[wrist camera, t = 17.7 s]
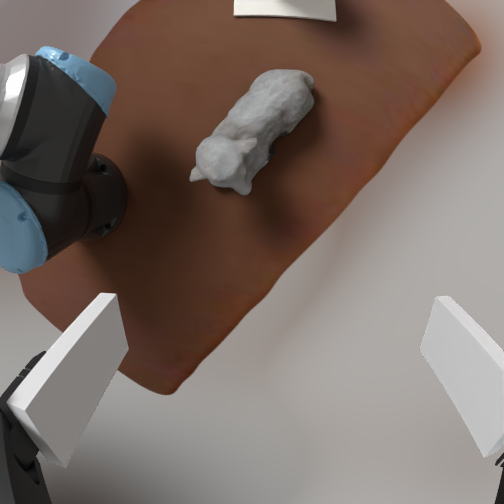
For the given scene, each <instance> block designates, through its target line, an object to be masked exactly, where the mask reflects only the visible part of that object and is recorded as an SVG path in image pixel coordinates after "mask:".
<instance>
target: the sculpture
mask: <svg viewBox="0 0 504 504" xmlns="http://www.w3.org/2000/svg"><path fill="white" fill-rule="evenodd" d="M313 88H314V79H313V78H312V77H311V76H310V75H309V74H307V73H306V72H303V71H299V70H286V69H277V70H270V71H267V72H265V73H263V74H261V75H260V76H259V77H257V78H256V79H255V81H254V82H253V84H252V85H251V87H250V89H249V91H248V92H247V93H246V94H245V95H244V96H243V97H241V98H240V99H239V100H238V101H237V102H236V104H235V106H234V107H233V108H232V109H231V110H230V111H229V113H228V116H227V117H226V118H225V119H224V120H223V121H222V122H221V123H220V124H219V125H218V126H217V128H216V129H215V130H214V132H213V134H212V135H211V136H210V137H208V138H206V139H204V140H203V142H201V144H200V145H199V146H198V147H197V151H196V166H195V167H194V168H193V169H192V171H191V176H190V178H189V179H190V181H191V182H194V181H198V180H202V179H208V180H209V182H210V183H211V184H212V185H214V186H217V187H224V188H225V187H230V188H233V189H234V190H235V191H236V192H238V193H239V194H241V195H247V194H249V193H250V191H251V189H252V185H251V180H252V179H253V177H254V176H255V175H256V173H257V172H258V171H259V170H260V169H261V168H262V167H263V166H265V165H266V164H267V163H268V161H269V160H270V158H271V157H272V156H273V155H274V153H275V150H274V147H273V145H272V142H273V141H274V140H275V138H278V137H282V136H285V135H287V134H289V133H290V132H291V131H292V130H293V129H294V128H295V126H296V125H297V124H298V122H299V121H300V120H301V119H302V118H303V117H304V116H305V115H306V114H307V113H308V112H309V111H310V110H311V108H312V107H313V105H314V99H313V96H312V93H311V91H312V89H313Z"/></svg>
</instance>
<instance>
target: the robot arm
mask: <svg viewBox="0 0 504 504" xmlns="http://www.w3.org/2000/svg"><path fill="white" fill-rule="evenodd" d="M115 93H116V83H115V81H114V79H113V78H112V77H111V76H110V75H109V74H108V73H106V72H105V71H103V70H102V69H100V68H98V67H97V66H95V65H93V64H91V63H89V62H87V61H85V60H83V59H81V58H79V57H77V56H74V55H69V54H68V53H66V52H64V51H62V50H60V49H56V48H53V47H49V46H44V47H42V48H41V49H40V50H39V51H37V53H36V55H35V56H30V55H27V54H22V55H20V56H18V57H17V58H15V59H14V60H12V61H10V62H9V63H7V64H0V160H2V162H1V166H0V266H1V267H2V268H4V269H5V270H7V271H10V272H12V273H17V274H22V273H26V272H28V271H30V270H32V269H34V268H35V267H40V266H42V265H43V264H44V263H45V262H46V261H48V260H49V259H51V258H52V257H53V256H55V255H56V254H58V253H59V252H61V251H62V250H64V249H65V248H67V247H68V246H70V245H72V244H73V243H75V242H76V241H95V240H98V239H101V238H103V237H104V236H106V235H108V234H109V233H111V232H112V231H113V230H114V229H115V228H116V227H117V226H118V225H119V223H120V222H121V220H122V218H123V215H124V213H125V209H126V203H127V192H126V186H125V182H124V179H123V176H122V174H121V172H120V171H119V169H118V168H117V166H116V165H115V164H114V163H113V162H112V161H111V160H110V159H108V158H107V157H105V156H103V155H101V154H97V153H92V152H93V149H94V146H95V144H96V141H97V138H98V136H99V133H100V130H101V128H102V125H103V123H104V120H105V118H108V115H109V112H108V111H109V108H110V106H111V103H112V101H113V98H114V96H115ZM128 349H129V348H128V344H127V340H126V336H125V331H124V327H123V323H122V318H121V314H120V309H119V304H118V299H117V294H111V293H100V294H99V295H98V296H97V297H96V298H95V299H94V300H93V301H92V302H91V303H90V304H89V306H88V307H87V308H86V309H85V310H84V311H83V312H82V313H81V314H80V315H79V316H78V317H77V318H76V320H75V321H74V322H73V323H72V324H71V325H70V326H69V327H68V328H67V330H66V331H65V332H64V333H63V334H62V335H61V336H60V337H59V339H58V340H57V341H56V342H55V343H54V344H53V345H52V347H51V348H50V349H49V350H48V351H47V352H46V351H43V352H41V353H40V354H38V355H37V356H35V357H34V358H33V359H32V360H31V361H30V362H29V363H28V364H27V365H26V366H25V369H23V370H22V371H21V372H20V374H19V377H16V378H15V380H14V381H13V382H12V383H11V385H10V386H9V387H8V388H7V389H6V391H5V392H4V393H3V394H2V396H1V397H0V504H52V503H51V500H50V497H49V494H48V491H47V487H46V484H45V481H44V477H43V474H42V471H41V467H40V463H39V461H38V459H37V457H36V455H37V453H38V451H40V452H41V453H42V454H43V456H44V457H45V458H46V459H47V460H48V461H50V462H53V463H55V464H57V465H59V466H62V467H65V468H66V467H67V464H68V462H69V460H70V458H71V456H72V454H73V452H74V450H75V448H76V446H77V444H78V442H79V440H80V438H81V436H82V434H83V432H84V430H85V428H86V426H87V424H88V422H89V420H90V419H91V417H92V415H93V413H94V411H95V409H96V407H97V405H98V403H99V401H100V400H101V398H102V396H103V394H104V392H105V390H106V389H107V387H108V385H109V383H110V381H111V379H112V378H113V376H114V374H115V372H116V371H117V369H118V367H119V365H120V363H121V362H122V360H123V358H124V356H125V355H126V353H127V351H128ZM419 350H420V351H421V353H422V354H423V356H424V357H425V359H426V360H427V362H428V363H429V365H430V366H431V368H432V369H433V371H434V373H435V374H436V376H437V377H438V379H439V380H440V382H441V384H442V385H443V387H444V388H445V390H446V392H447V393H448V395H449V397H450V398H451V400H452V402H453V403H454V405H455V407H456V408H457V410H458V412H459V414H460V415H461V417H462V419H463V420H464V422H465V424H466V426H467V427H468V429H469V431H470V433H471V434H472V436H473V438H474V440H475V442H476V444H477V446H478V447H479V449H480V451H481V453H482V455H483V457H484V458H485V457H487V456H489V455H491V454H493V453H495V452H497V451H499V450H500V449H501V447H502V446H503V445H504V351H503V350H502V349H501V348H500V347H499V346H498V345H497V344H496V343H495V342H494V340H493V339H491V337H490V336H489V335H488V334H487V333H486V332H485V331H484V330H483V329H482V328H481V327H480V326H479V325H478V324H477V323H476V322H475V321H474V320H473V319H472V318H471V317H470V316H469V315H468V314H467V313H466V312H465V311H464V310H463V309H462V308H461V307H460V306H459V305H457V303H456V302H455V301H454V300H453V299H451V297H449V296H439V297H435V301H434V304H433V308H432V311H431V315H430V318H429V321H428V324H427V328H426V331H425V334H424V337H423V340H422V343H421V346H420V349H419ZM503 459H504V453H503V454H502V455H501V456H500V458H499V459H498V460H497V461H496V463H495V465H496V466H497V465H498V464H499V463H500V462H501V460H503ZM501 467H503V471H502V475H501V480H500V484H499V489H498V493H497V497H496V500H495V504H504V462H503V463H502V464H501Z"/></svg>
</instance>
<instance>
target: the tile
mask: <svg viewBox="0 0 504 504" xmlns="http://www.w3.org/2000/svg"><path fill="white" fill-rule="evenodd" d="M234 16H273V17H293V18H306V19H316V20H325V21H332V22H336V8H335V0H234Z"/></svg>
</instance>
